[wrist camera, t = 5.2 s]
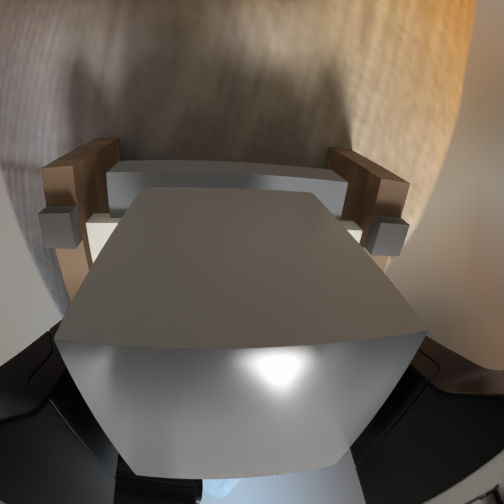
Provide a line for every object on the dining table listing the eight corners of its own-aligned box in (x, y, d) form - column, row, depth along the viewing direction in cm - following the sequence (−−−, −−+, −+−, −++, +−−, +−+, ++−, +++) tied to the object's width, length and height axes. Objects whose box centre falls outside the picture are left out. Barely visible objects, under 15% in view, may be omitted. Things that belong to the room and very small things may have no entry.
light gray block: (288, 320, 11) (334, 464, 6) (155, 320, 11) (136, 475, 5) (312, 192, 9) (428, 330, 4) (143, 187, 8) (53, 338, 3)
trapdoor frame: (310, 329, 25) (334, 399, 19) (122, 327, 23) (104, 400, 16) (352, 150, 17) (419, 189, 11) (95, 139, 15) (31, 174, 9)
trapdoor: (300, 362, 21) (308, 389, 19) (135, 362, 19) (130, 390, 17) (350, 172, 14) (373, 188, 12) (100, 161, 12) (80, 177, 10)
